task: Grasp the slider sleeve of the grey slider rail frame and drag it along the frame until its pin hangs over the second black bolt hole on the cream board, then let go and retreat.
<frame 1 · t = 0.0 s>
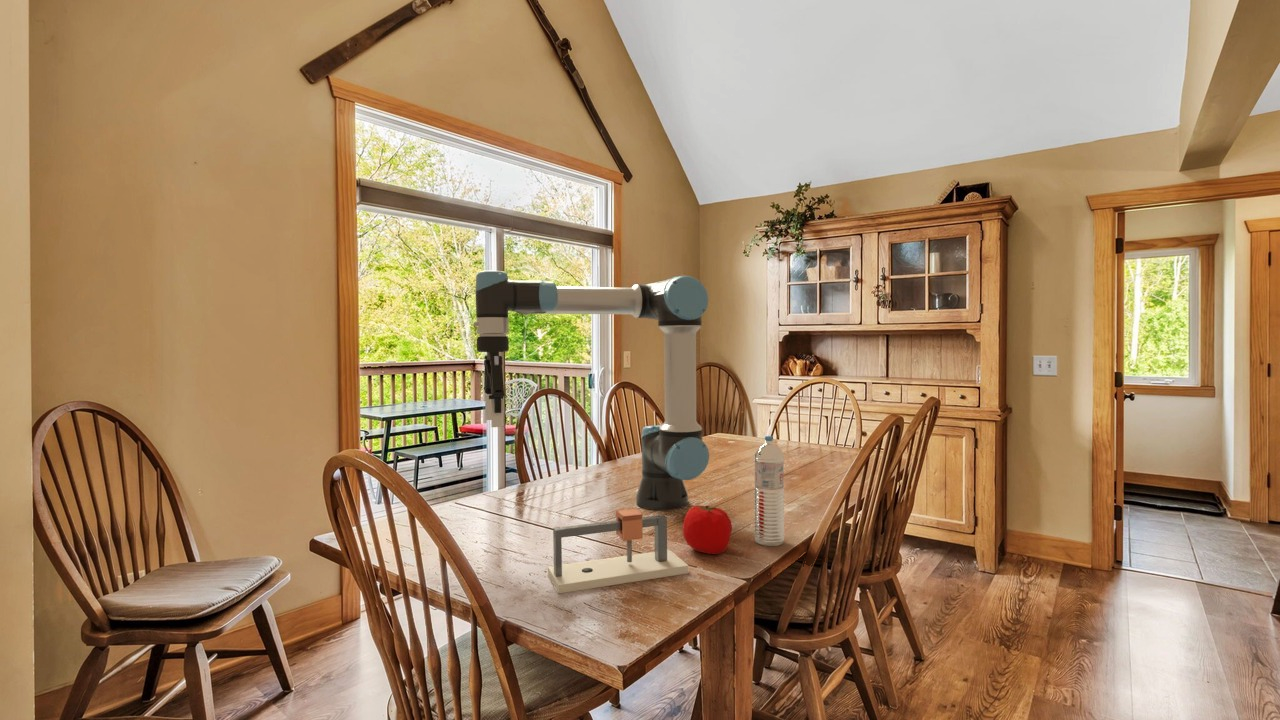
hand: (494, 423, 146), 28 cm above the table, fingers open, 13 cm apart
slider sleeve: (629, 536, 124), point 7 cm above the table, slide at 0.0 cm
hole board: (618, 573, 123), on the table
water bottle: (769, 543, 141), on the table
grey slider rail frame: (611, 544, 122), on the hole board, point 6 cm above the table
tomato: (707, 551, 136), on the table
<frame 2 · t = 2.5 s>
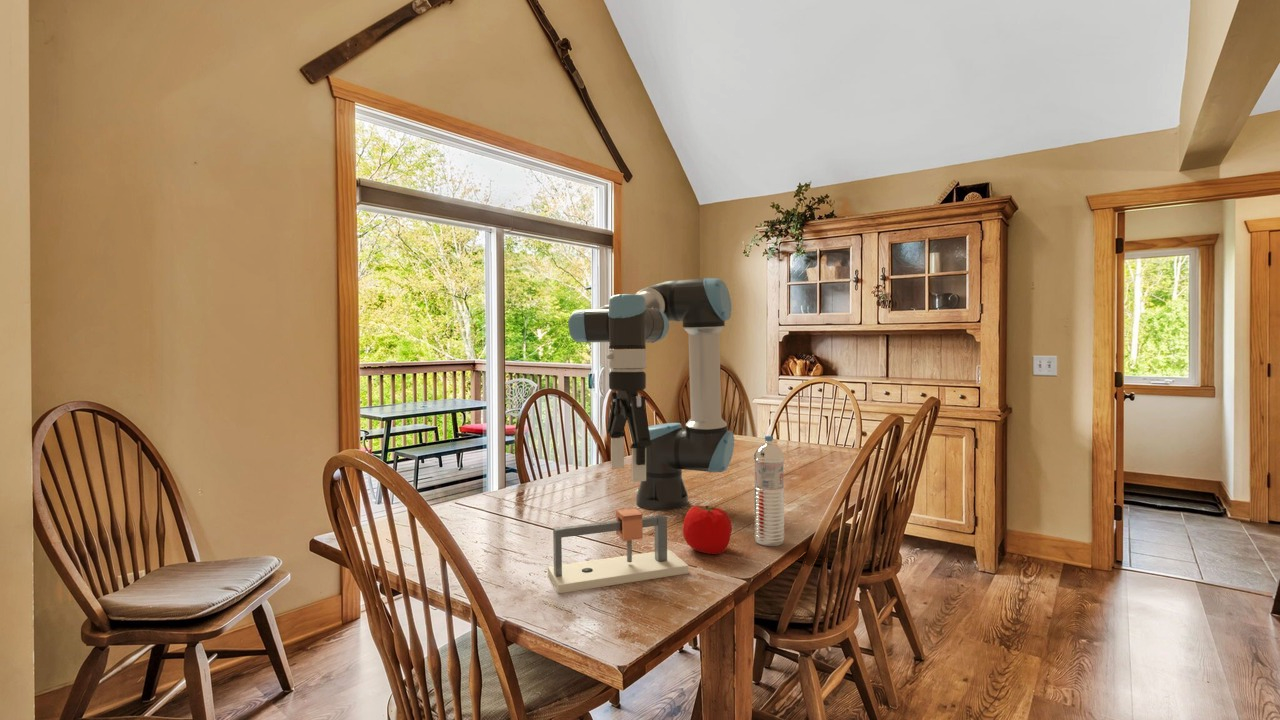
hand: (627, 474, 123), 20 cm above the table, fingers open, 13 cm apart
nothing on the table moved.
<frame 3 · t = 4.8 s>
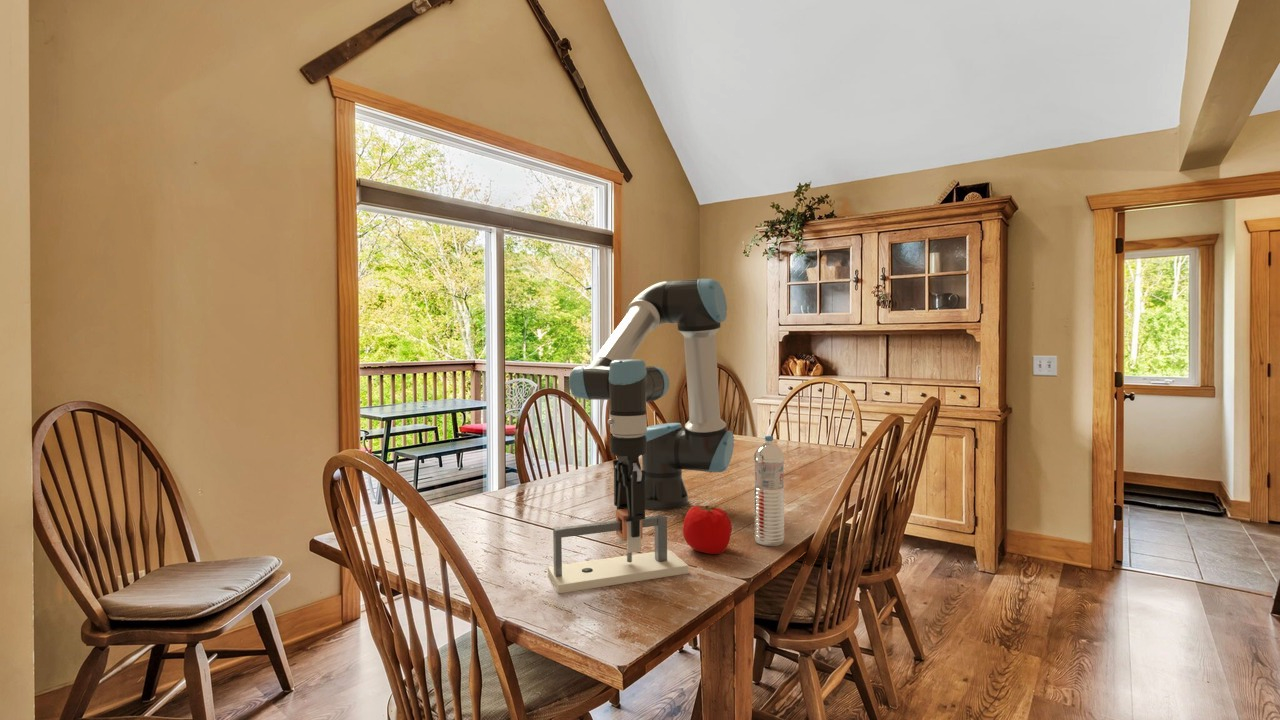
hand: (629, 546, 124), 5 cm above the table, fingers closed on slider sleeve, 5 cm apart
slider sleeve: (629, 536, 124), point 7 cm above the table, slide at 0.0 cm, touching gripper
everything else where it was.
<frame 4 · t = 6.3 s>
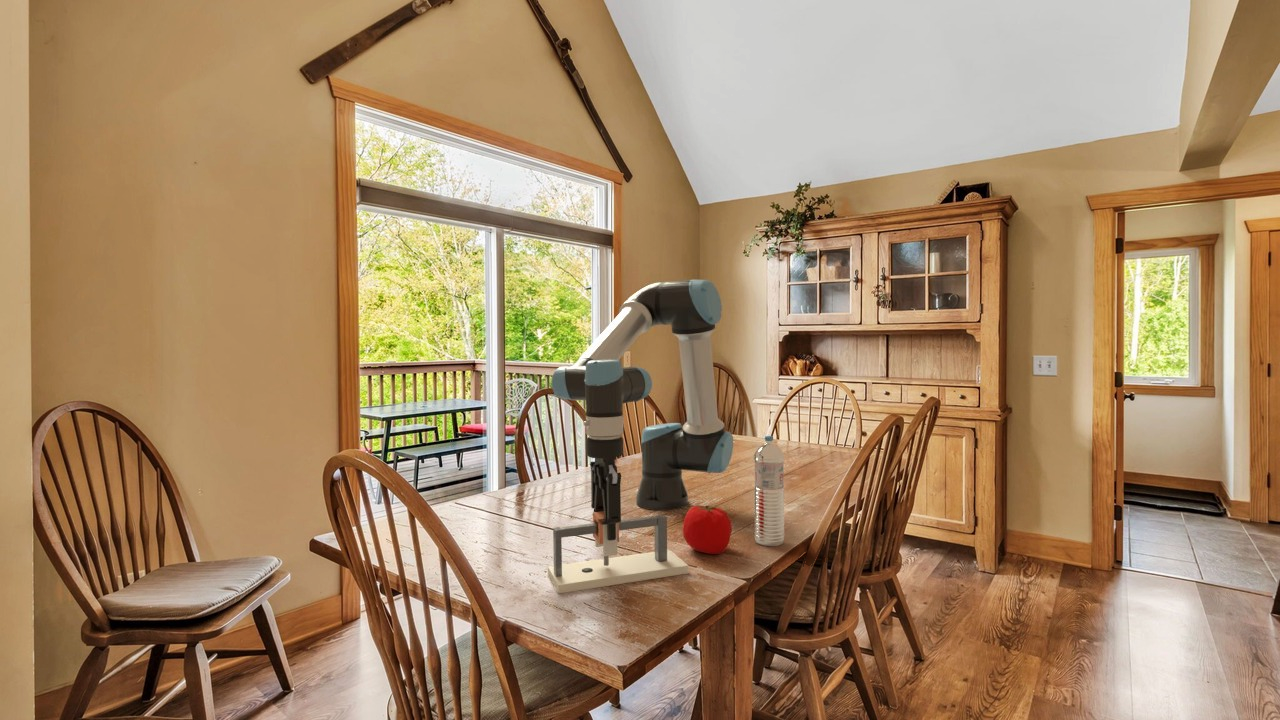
hand: (606, 549, 122), 5 cm above the table, fingers closed on slider sleeve, 5 cm apart
slider sleeve: (605, 539, 122), point 7 cm above the table, slide at 5.0 cm, touching gripper
everything else where it was.
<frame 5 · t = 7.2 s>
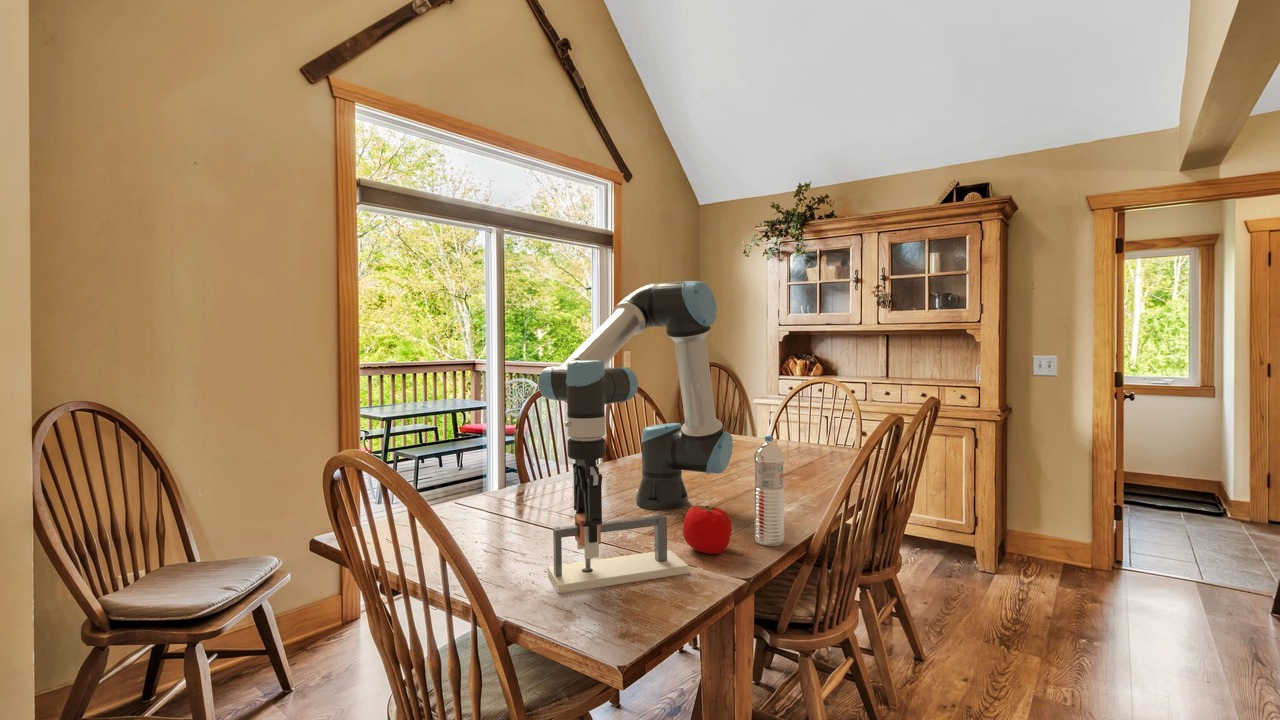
hand: (587, 552, 121), 5 cm above the table, fingers closed on slider sleeve, 5 cm apart
slider sleeve: (587, 542, 121), point 7 cm above the table, slide at 8.8 cm, touching gripper
everything else where it was.
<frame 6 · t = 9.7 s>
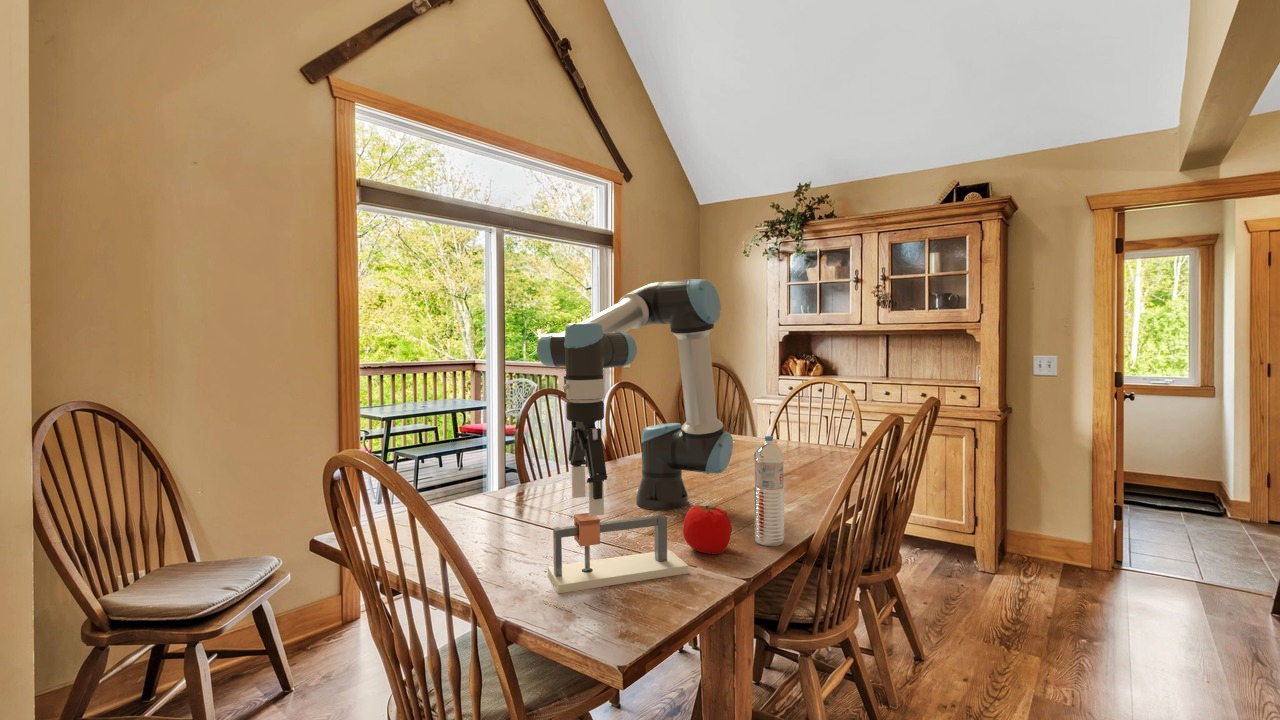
hand: (587, 505, 121), 15 cm above the table, fingers open, 13 cm apart
slider sleeve: (587, 542, 121), point 7 cm above the table, slide at 9.0 cm
everything else where it was.
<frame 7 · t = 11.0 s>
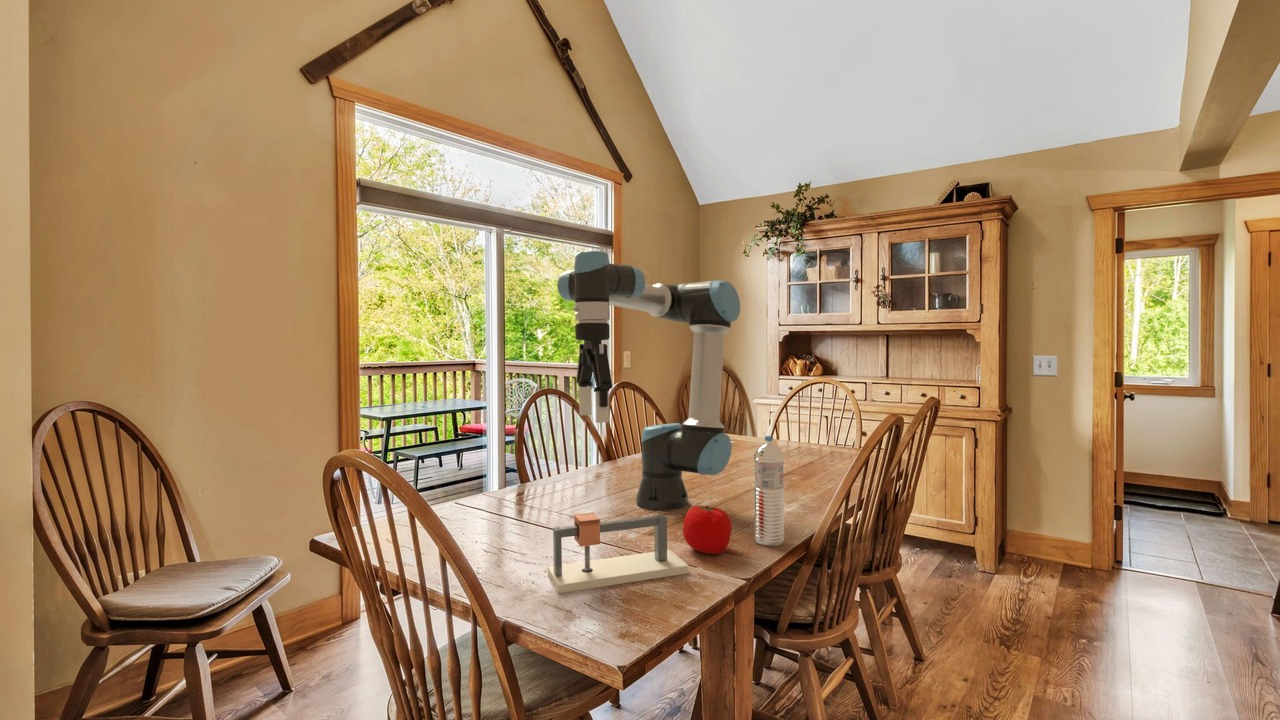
hand: (593, 418, 133), 31 cm above the table, fingers open, 13 cm apart
nothing on the table moved.
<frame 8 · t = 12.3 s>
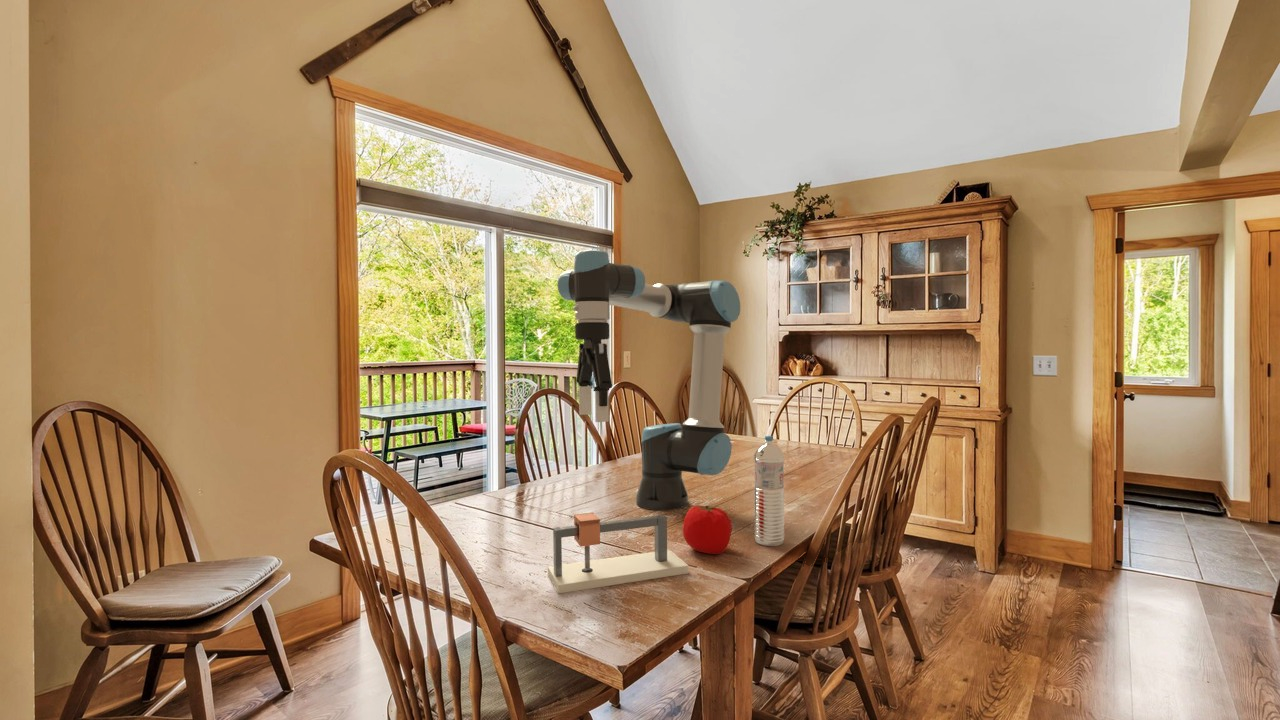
hand: (593, 418, 133), 31 cm above the table, fingers open, 13 cm apart
nothing on the table moved.
at the end: slider sleeve slide at 9.0 cm; the gripper is holding nothing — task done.
